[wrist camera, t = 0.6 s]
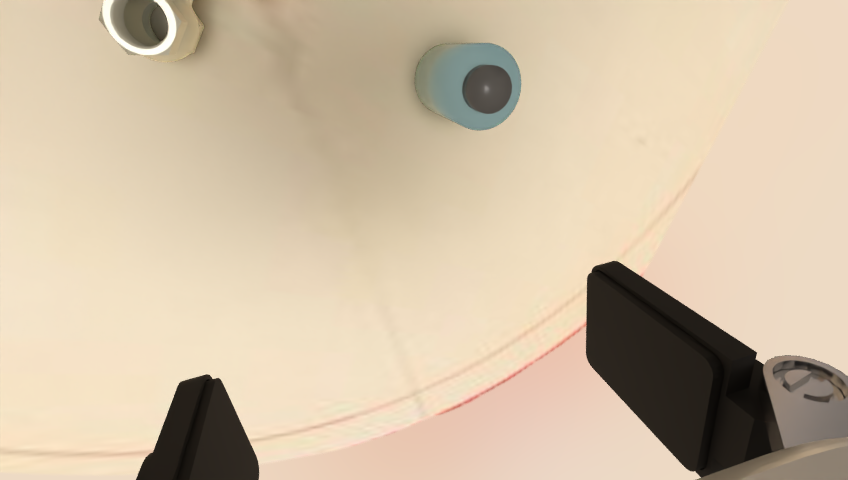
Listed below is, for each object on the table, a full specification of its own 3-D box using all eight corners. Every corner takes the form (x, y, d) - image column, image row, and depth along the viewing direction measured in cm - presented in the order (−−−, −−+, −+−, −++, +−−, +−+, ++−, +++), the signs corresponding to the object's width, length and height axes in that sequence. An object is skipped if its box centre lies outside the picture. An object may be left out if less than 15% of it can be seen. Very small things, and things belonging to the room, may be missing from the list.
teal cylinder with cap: (409, 51, 32) (443, 52, 25) (473, 37, 33) (527, 35, 25) (421, 120, 35) (456, 142, 27) (481, 106, 35) (532, 123, 28)
